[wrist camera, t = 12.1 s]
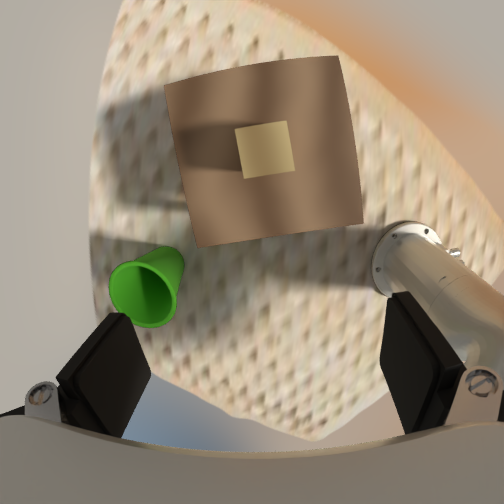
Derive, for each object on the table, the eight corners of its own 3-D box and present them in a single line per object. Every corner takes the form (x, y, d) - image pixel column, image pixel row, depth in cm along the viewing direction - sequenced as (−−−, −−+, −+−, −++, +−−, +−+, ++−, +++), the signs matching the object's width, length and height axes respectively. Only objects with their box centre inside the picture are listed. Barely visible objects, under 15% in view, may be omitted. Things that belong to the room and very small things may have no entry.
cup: (133, 241, 42) (97, 270, 32) (186, 226, 41) (159, 254, 30) (153, 293, 45) (126, 332, 35) (205, 282, 44) (187, 323, 33)
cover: (314, 86, 33) (353, 36, 15) (332, 196, 38) (383, 241, 20) (200, 105, 34) (140, 74, 17) (221, 213, 39) (182, 270, 22)
